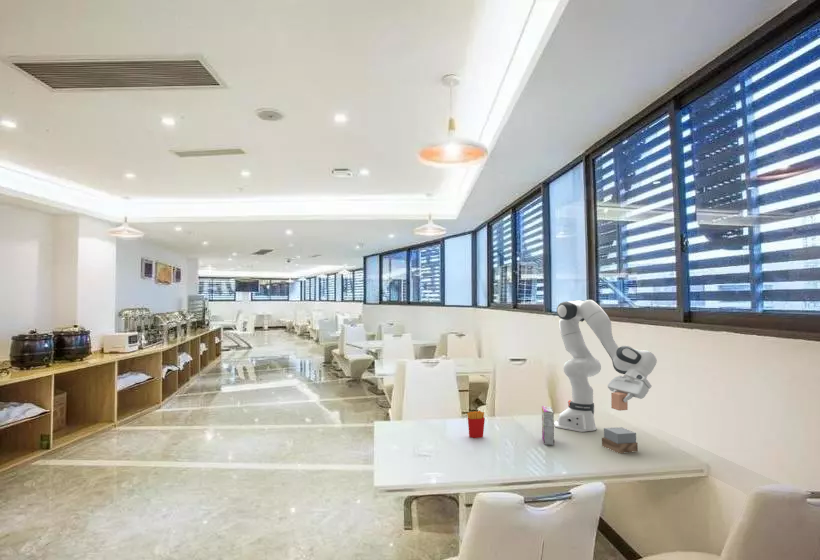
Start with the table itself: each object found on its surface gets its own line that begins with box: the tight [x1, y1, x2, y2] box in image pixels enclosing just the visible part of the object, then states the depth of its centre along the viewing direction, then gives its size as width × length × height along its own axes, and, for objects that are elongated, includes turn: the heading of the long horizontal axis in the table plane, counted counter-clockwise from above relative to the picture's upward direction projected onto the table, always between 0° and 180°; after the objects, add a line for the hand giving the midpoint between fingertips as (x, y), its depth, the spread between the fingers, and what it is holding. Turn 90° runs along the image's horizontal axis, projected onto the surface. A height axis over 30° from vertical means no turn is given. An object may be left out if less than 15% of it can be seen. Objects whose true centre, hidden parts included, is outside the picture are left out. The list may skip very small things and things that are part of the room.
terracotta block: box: [610, 392, 629, 411], centre depth 213 cm, size 5×5×8 cm
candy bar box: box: [541, 405, 555, 446], centre depth 221 cm, size 11×5×16 cm, turn 168°
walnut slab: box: [601, 436, 639, 454], centre depth 212 cm, size 11×11×4 cm
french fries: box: [466, 410, 485, 439], centre depth 228 cm, size 9×4×13 cm, turn 104°
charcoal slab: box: [603, 426, 637, 444], centre depth 212 cm, size 10×10×4 cm
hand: (618, 400), depth 213 cm, fingers closed on terracotta block, 5 cm apart
